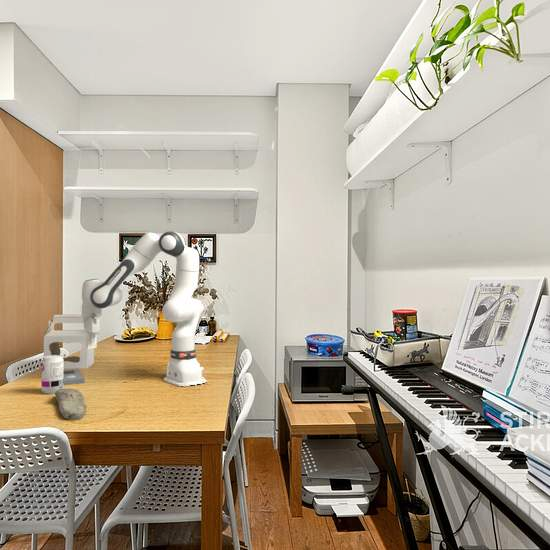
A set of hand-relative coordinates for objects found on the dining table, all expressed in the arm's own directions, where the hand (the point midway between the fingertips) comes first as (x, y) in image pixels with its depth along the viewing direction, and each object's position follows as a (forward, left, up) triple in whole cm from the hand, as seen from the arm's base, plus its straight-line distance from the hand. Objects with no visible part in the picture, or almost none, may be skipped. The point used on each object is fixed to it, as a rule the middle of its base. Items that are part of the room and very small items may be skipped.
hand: (91, 341), depth 204 cm
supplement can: (-16, +18, -18) cm, 30 cm away
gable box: (+33, +5, -18) cm, 38 cm away
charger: (0, 0, -3) cm, 3 cm away
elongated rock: (-41, +14, -19) cm, 47 cm away
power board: (+4, +9, -18) cm, 21 cm away
